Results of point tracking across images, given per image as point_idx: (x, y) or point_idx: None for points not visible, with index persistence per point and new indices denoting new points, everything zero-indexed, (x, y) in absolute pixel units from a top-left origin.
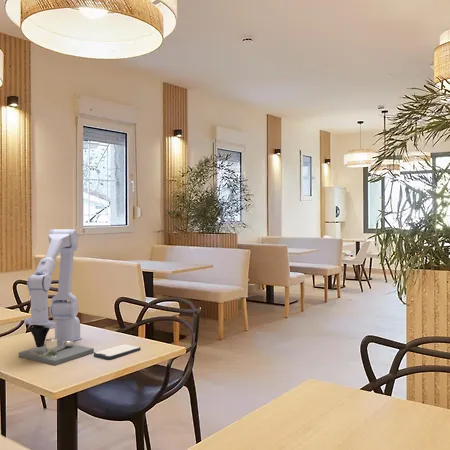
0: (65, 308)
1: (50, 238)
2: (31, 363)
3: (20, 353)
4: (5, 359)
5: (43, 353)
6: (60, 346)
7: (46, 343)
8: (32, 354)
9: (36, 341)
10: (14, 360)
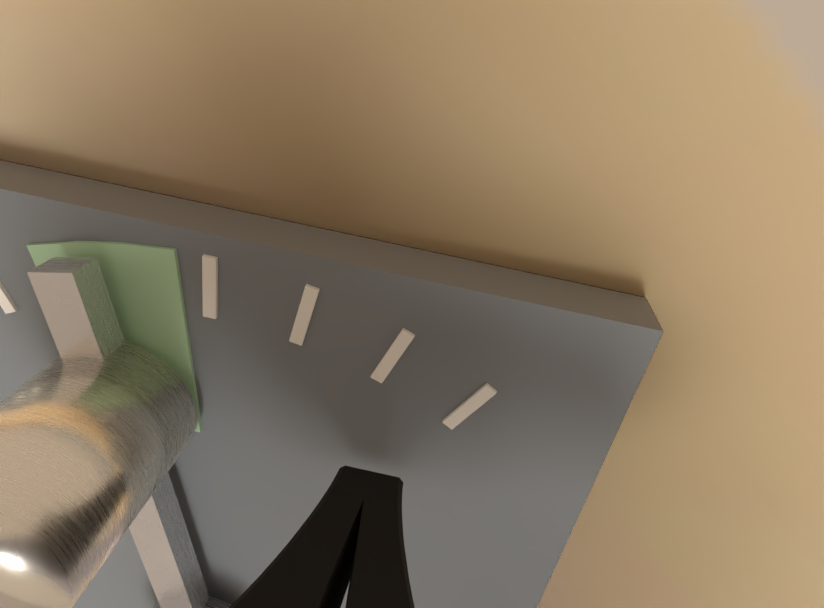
0: None
1: None
2: (201, 80)
3: (616, 316)
4: (795, 109)
5: (66, 271)
6: (173, 572)
7: (26, 455)
8: (356, 300)
9: (359, 542)
10: (586, 117)
